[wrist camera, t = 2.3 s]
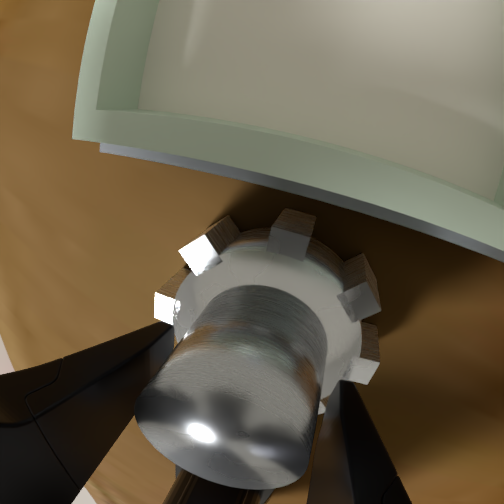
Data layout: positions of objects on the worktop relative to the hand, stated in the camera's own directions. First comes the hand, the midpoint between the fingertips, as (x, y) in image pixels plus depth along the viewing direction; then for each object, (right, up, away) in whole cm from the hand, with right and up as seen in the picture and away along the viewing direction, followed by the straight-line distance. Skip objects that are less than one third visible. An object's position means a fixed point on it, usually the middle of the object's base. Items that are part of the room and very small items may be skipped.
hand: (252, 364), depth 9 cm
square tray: (+3, +11, -2) cm, 11 cm away
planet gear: (+1, +1, +3) cm, 3 cm away
